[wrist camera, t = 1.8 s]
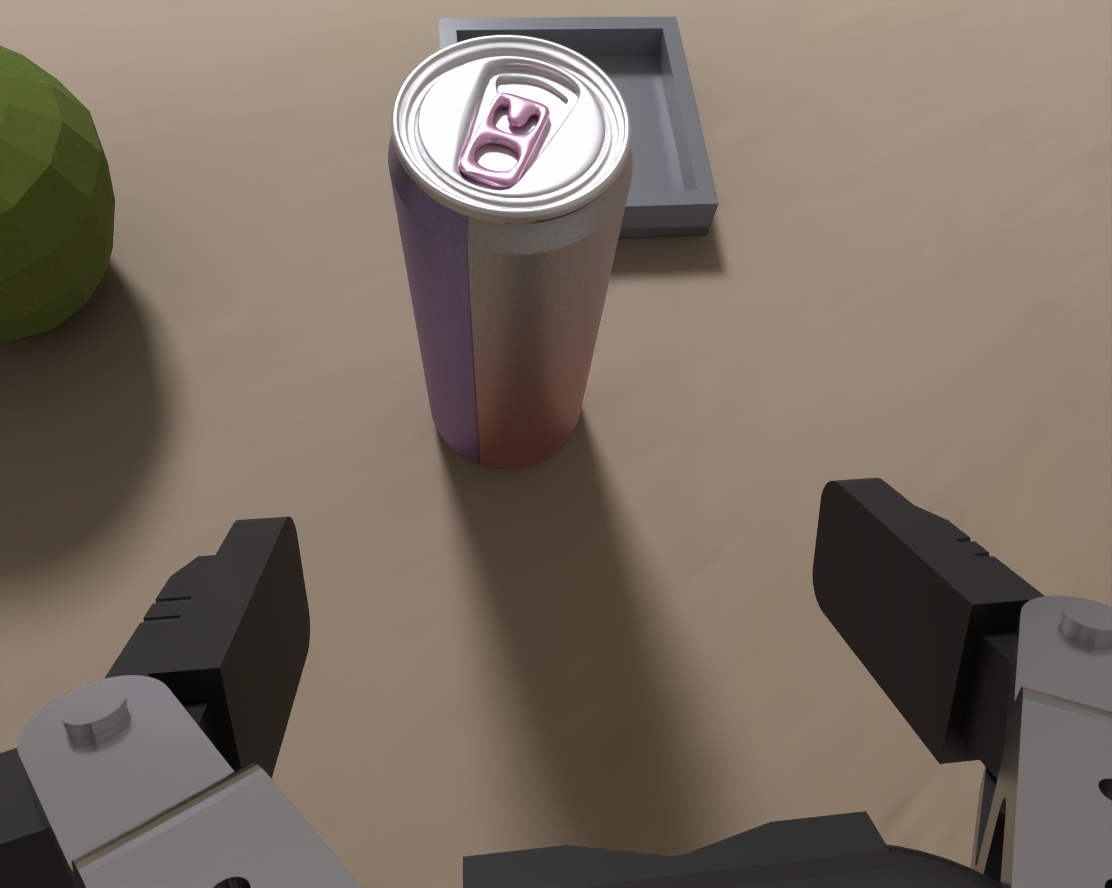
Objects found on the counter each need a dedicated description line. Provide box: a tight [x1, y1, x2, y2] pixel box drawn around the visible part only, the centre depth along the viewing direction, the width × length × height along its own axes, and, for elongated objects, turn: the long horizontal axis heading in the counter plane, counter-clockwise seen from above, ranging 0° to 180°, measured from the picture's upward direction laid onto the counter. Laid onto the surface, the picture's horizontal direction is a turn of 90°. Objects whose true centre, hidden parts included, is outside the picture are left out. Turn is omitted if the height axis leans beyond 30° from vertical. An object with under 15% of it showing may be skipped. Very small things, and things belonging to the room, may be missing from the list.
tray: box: [439, 17, 718, 238], centre depth 37 cm, size 12×12×2 cm
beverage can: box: [388, 35, 633, 469], centre depth 25 cm, size 6×6×15 cm
